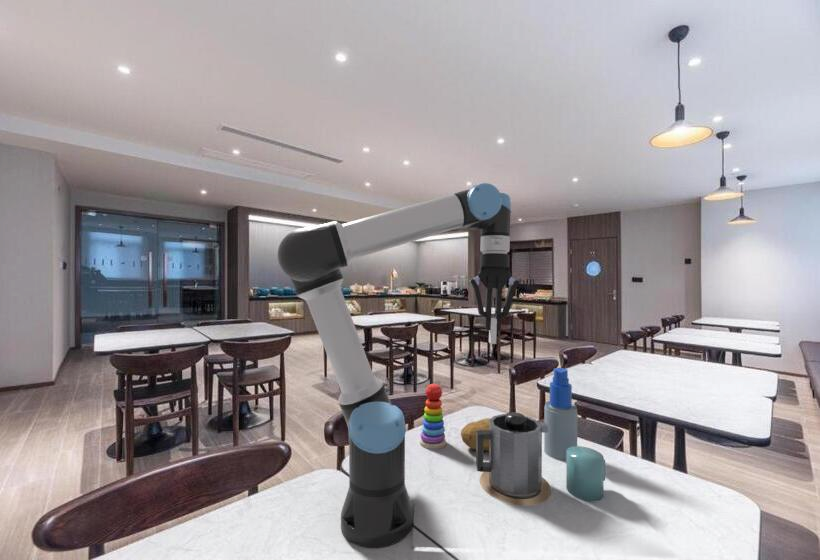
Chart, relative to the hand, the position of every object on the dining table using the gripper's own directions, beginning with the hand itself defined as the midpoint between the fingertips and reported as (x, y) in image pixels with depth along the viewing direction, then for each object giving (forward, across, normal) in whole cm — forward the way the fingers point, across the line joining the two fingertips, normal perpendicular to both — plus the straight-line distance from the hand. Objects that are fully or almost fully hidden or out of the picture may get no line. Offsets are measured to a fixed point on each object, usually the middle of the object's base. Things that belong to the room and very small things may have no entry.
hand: (492, 342), depth 96 cm
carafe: (+34, +5, -6) cm, 35 cm away
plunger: (+29, +5, -6) cm, 30 cm away
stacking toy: (+35, -15, +15) cm, 41 cm away
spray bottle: (+34, +22, +11) cm, 42 cm away
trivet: (+34, +5, -6) cm, 35 cm away
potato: (+35, +1, +13) cm, 37 cm away
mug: (+34, +21, -8) cm, 41 cm away
